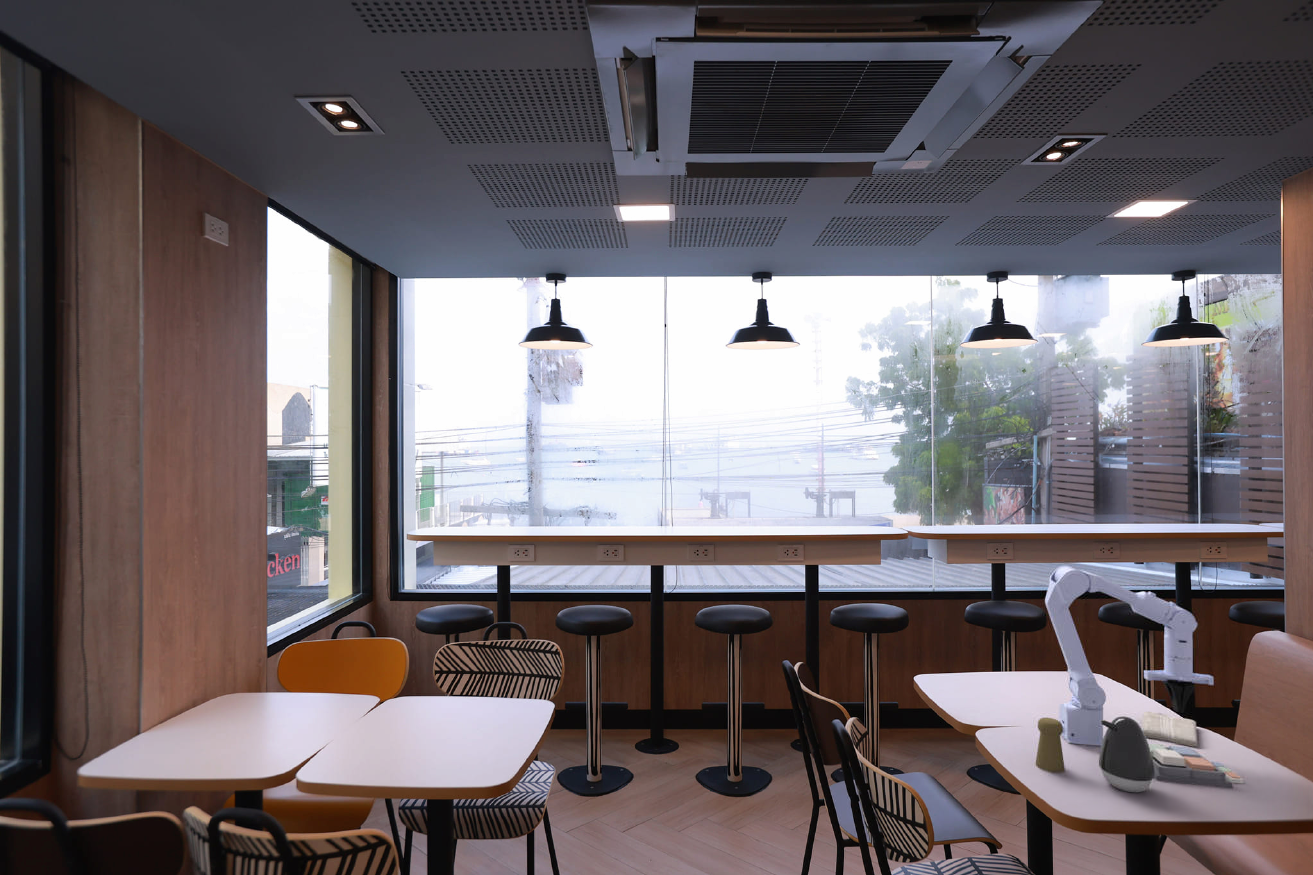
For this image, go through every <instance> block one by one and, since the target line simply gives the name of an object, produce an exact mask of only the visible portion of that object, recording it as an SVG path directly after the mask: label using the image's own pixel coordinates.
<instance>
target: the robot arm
mask: <svg viewBox="0 0 1313 875" xmlns="http://www.w3.org/2000/svg"><path fill="white" fill-rule="evenodd" d="M1086 592H1089V593H1096V592H1100V593H1103V594H1106V595H1108V596H1110V597H1112V598H1115V599H1117V600H1119V601H1122V602H1124V603H1126V604H1128V605H1129V606H1130V607H1131V609H1132V611H1133V613H1136V614H1138V615H1141V616H1143V617H1145V618H1146V619H1150V620H1151V621H1154V622H1156V623H1158V624H1162V625H1163V626H1164V634H1163V637H1164V638H1163V639H1164V640H1163V645H1164V646H1163V650H1164V651H1163V652H1164V653H1163V659H1164V660H1163V666H1164V667H1163V670H1162V669H1160V670H1143V678H1144V679H1146V681H1162V683H1163V685H1164V687H1165V690H1166V691H1167V693H1168V695H1169V698H1170V702H1171V704H1172V709H1173V710H1174V711H1175V712H1177V713H1185V712H1184V711H1185V708H1186V704H1187V702H1188V700H1189V698H1190V697H1191V695H1192V693H1193V692H1194V691H1195V690H1196V687H1195V685H1194V684H1202V685H1203V684H1204V685H1205V684H1206V685H1209V686H1214V684H1215V682H1214V679H1215V678H1214V676H1212V675H1210V674H1202V673H1194V671H1193V669H1194V667H1193V666H1194V665H1193V661H1194V660H1193V659H1194V658H1193V656H1194V654H1193V652H1194V650H1193V648H1194V646H1193V644H1194V643H1193V641H1194V639H1193V633H1194V632H1195V631H1196V629H1197V627H1198V622H1197V621H1196V618H1195V616H1194V615H1193V614H1192V612H1190V611H1188V610H1186V609H1184V608H1182V607H1180V606H1178V605H1177V604H1176V603H1175V602H1172V601H1166V600H1165V599H1162V598H1159V597H1157V596H1156V595H1157V593H1154V592H1151V591H1148V592H1147V591H1140V592H1133V591H1131V590H1129V589H1127V588H1125V587H1122V586H1120V585H1118V584H1117V583H1114V582H1113V581H1110V580H1108V579H1106V578H1105V577H1102V576H1100V575H1098V574H1095V573H1093V572H1090V571H1089V572H1088V571H1085V570H1082V569H1079V568H1078V570H1077V569H1076V568H1075V567H1073V566H1071V565H1065V564H1064V565H1061V566H1059V567H1057V568H1056V569H1055V570H1054V571H1053V572H1052V574H1051V575H1050V576H1049V585H1048V587H1047V590H1046V595H1045V598H1044V604H1045V607H1046V609H1047V612H1048V615H1049V618H1050V622H1051V624H1052V627H1053V629H1054V631H1055V635H1056V637H1057V640H1058V644H1059V646H1060V649H1061V652H1062V654H1063V657H1064V661H1065V663H1066V665H1067V674H1068V680H1069V681H1068V688H1069V690H1070V692H1071V693H1072V696H1071V698H1070V702H1062V703H1060V705H1059V710H1058V711H1059V712H1058V717H1059V718H1058V719H1059V720H1058V721H1059V722H1061V724H1062V726H1063V732H1062V734H1061V735H1060V736H1062V737H1063V738H1064V739H1065V741H1066V742H1068V744H1074V745H1075V744H1076V745H1086V746H1097V747H1098V746H1099V747H1101V745H1102V741H1103V738H1104V725H1102V724H1101V721H1102V720H1104V704H1105V703H1106V701H1107V700H1106V699H1107V696H1106V692H1105V691H1104V689H1103V688H1102V687H1101V686H1100V685H1099V684H1098V682H1097V680H1096V677H1095V675H1094V673H1093V671H1092V670H1091V667H1090V665H1089V662H1088V660H1087V656H1086V654H1085V651H1084V648H1083V645H1082V643H1081V640H1080V637H1079V635H1078V632H1077V628H1076V626H1075V623H1074V620H1073V617H1072V615H1071V612H1070V610H1069V608H1070V606H1071V604H1072V603H1073V602H1074V600H1076V599H1077V598H1078V597H1080V596H1081V595H1083V594H1085V593H1086Z"/></svg>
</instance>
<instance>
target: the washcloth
mask: <svg viewBox="0 0 1313 875" xmlns="http://www.w3.org/2000/svg"><path fill="white" fill-rule="evenodd" d="M1141 722H1142V731H1143V732H1144V734H1145V737H1146V738H1147V739H1153V740H1158V741H1165V742H1171V743H1173V744H1178V745H1183V746H1188V747H1193V748H1196V747H1199V745H1198V734H1197V733H1198V732H1197V721H1195V720H1193V719H1189V718H1181V717H1175V716H1174V717H1173V716H1171V715H1167V714H1163V713H1160V712H1152V711H1145V712H1144V713H1143V714H1142V721H1141Z"/></svg>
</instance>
